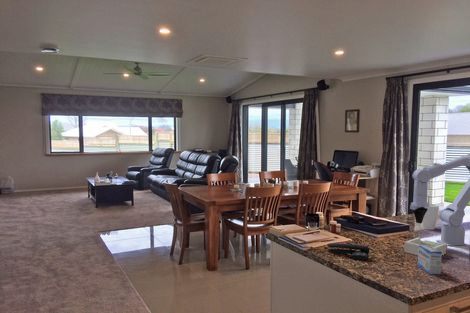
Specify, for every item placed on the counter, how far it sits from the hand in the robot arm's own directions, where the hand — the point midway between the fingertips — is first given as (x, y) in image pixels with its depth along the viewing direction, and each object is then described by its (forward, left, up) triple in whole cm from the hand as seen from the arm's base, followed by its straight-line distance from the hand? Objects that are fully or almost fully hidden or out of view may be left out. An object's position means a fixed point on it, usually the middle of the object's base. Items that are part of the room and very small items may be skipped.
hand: (418, 222), depth 173 cm
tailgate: (+3, +12, -8) cm, 14 cm away
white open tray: (+8, +14, -9) cm, 19 cm away
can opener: (+43, +11, -10) cm, 45 cm away
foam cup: (-24, -22, -10) cm, 34 cm away
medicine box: (+21, +32, -10) cm, 39 cm away
